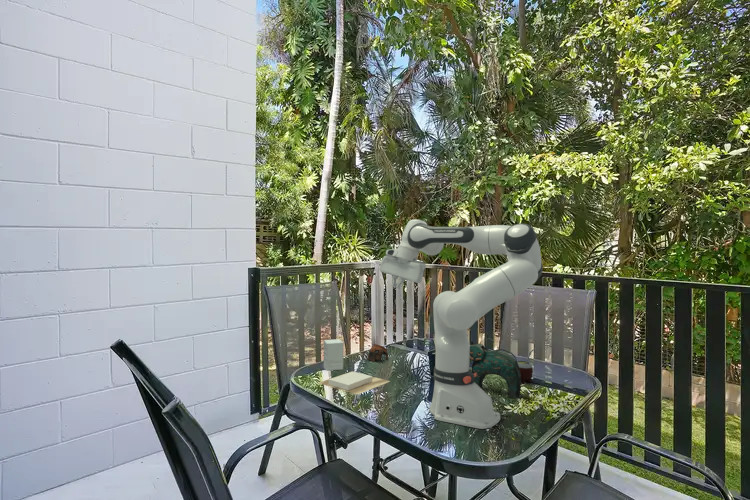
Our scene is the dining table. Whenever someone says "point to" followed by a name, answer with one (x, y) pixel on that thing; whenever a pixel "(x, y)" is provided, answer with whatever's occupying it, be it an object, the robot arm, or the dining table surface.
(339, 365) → the supplement box
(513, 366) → the ceramic cat
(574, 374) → the dining table surface
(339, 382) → the tile
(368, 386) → the board
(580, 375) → the dining table surface
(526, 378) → the mate gourd
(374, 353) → the brown animal figurine
